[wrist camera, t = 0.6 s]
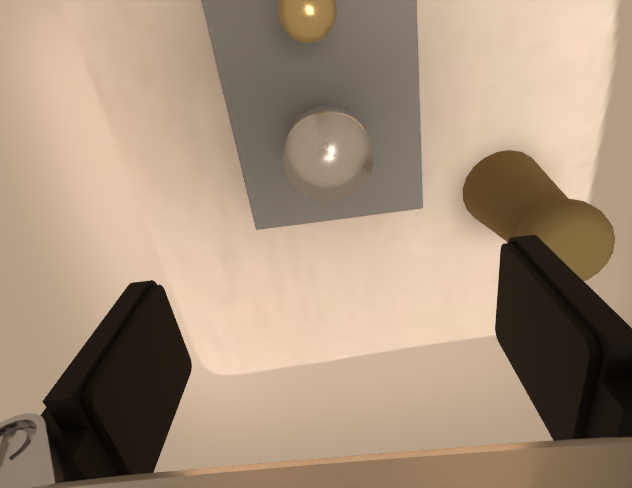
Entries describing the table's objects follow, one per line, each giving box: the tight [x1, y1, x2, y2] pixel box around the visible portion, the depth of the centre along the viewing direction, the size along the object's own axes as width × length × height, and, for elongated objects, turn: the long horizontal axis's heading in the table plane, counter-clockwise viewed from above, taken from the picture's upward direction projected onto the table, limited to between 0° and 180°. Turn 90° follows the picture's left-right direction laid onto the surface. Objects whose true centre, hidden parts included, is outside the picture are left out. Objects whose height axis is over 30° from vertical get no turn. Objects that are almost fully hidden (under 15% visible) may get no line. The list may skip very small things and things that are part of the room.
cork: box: [463, 150, 615, 281], centre depth 28 cm, size 6×6×11 cm
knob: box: [283, 105, 373, 202], centre depth 25 cm, size 5×5×6 cm
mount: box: [202, 0, 423, 230], centre depth 26 cm, size 26×12×4 cm, turn 8°
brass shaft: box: [278, 0, 337, 43], centre depth 21 cm, size 3×3×6 cm
